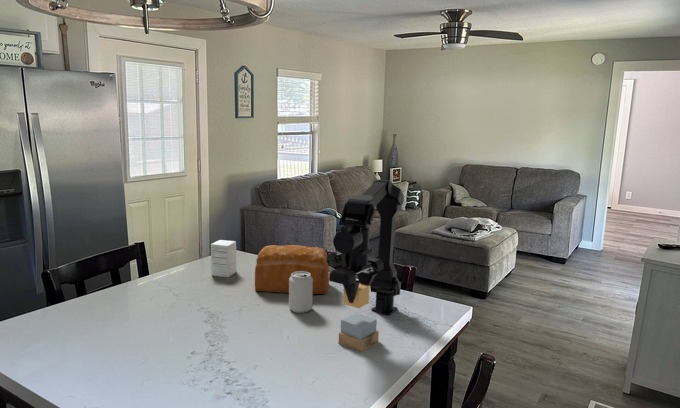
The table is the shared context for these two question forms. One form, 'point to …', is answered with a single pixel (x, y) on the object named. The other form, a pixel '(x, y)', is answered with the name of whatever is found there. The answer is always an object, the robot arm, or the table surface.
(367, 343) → the walnut base block
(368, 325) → the slate block
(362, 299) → the ochre cube
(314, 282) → the bread
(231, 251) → the supplement box
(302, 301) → the can
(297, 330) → the table surface
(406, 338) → the table surface
